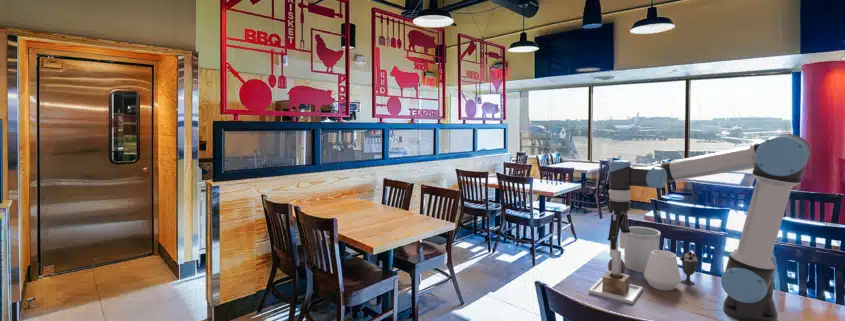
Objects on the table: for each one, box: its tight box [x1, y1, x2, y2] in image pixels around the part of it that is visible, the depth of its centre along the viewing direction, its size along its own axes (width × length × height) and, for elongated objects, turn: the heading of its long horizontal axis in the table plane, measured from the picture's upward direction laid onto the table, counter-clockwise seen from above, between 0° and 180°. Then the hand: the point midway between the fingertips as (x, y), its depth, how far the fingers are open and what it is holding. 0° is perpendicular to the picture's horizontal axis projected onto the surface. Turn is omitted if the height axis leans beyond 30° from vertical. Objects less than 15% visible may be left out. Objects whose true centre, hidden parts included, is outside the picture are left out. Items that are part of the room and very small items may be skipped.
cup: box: [643, 249, 682, 291], centre depth 172 cm, size 13×13×14 cm
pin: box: [611, 250, 622, 279], centre depth 167 cm, size 3×3×16 cm
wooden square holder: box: [602, 270, 631, 296], centre depth 167 cm, size 8×8×6 cm
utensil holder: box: [623, 226, 662, 273], centre depth 193 cm, size 15×15×18 cm
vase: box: [607, 258, 626, 274], centre depth 185 cm, size 7×7×9 cm
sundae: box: [679, 248, 700, 286], centre depth 175 cm, size 7×7×15 cm
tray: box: [588, 276, 644, 305], centre depth 167 cm, size 16×16×2 cm
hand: (618, 252), depth 165 cm, fingers open, 13 cm apart
